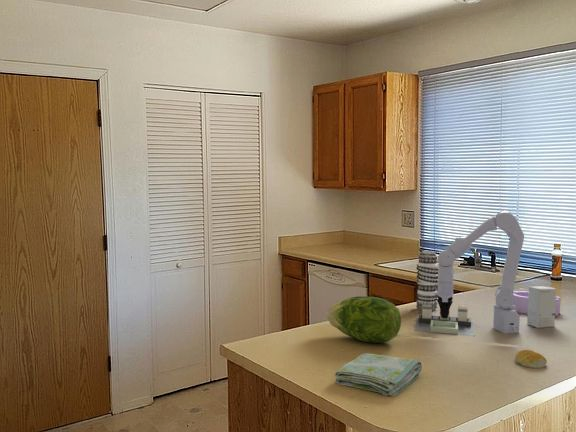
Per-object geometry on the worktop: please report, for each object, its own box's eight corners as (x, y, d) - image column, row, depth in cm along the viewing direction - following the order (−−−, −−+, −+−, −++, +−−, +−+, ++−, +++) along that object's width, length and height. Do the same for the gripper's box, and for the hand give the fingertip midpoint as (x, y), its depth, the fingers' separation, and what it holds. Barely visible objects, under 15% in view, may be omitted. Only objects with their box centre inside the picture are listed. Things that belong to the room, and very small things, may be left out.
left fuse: (431, 323, 211) (431, 307, 210) (422, 322, 212) (422, 306, 211) (431, 320, 214) (431, 305, 213) (422, 320, 215) (422, 304, 214)
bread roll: (531, 358, 174) (532, 345, 174) (551, 368, 165) (551, 355, 165) (508, 360, 172) (509, 347, 172) (527, 370, 164) (527, 356, 163)
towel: (331, 385, 152) (331, 367, 151) (366, 363, 169) (366, 347, 169) (393, 400, 141) (393, 381, 141) (423, 375, 159) (423, 358, 159)
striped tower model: (410, 310, 233) (412, 251, 231) (423, 306, 240) (425, 249, 238) (429, 314, 227) (430, 254, 225) (442, 310, 233) (443, 252, 231)
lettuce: (336, 329, 204) (336, 288, 203) (406, 340, 191) (407, 296, 190) (318, 339, 192) (318, 295, 190) (392, 352, 178) (393, 305, 177)
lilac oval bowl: (561, 311, 233) (562, 295, 232) (556, 318, 223) (557, 301, 222) (511, 305, 244) (512, 289, 244) (504, 310, 234) (505, 294, 233)
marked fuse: (449, 324, 209) (449, 308, 208) (439, 323, 210) (439, 307, 209) (449, 322, 212) (449, 306, 212) (439, 321, 213) (440, 305, 213)
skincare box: (537, 328, 207) (539, 289, 206) (526, 324, 213) (527, 286, 212) (555, 326, 209) (557, 288, 208) (543, 322, 215) (545, 285, 214)
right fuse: (467, 325, 207) (467, 309, 206) (457, 325, 208) (458, 308, 207) (466, 323, 210) (467, 307, 210) (457, 322, 211) (457, 306, 211)
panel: (474, 338, 194) (475, 330, 194) (413, 333, 200) (414, 326, 200) (472, 324, 212) (472, 317, 212) (416, 319, 218) (417, 313, 218)
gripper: (435, 277, 218) (434, 311, 219) (434, 284, 204) (433, 320, 205) (453, 278, 216) (452, 312, 217) (454, 285, 202) (452, 322, 203)
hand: (444, 316), depth 211 cm, fingers closed on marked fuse, 3 cm apart
